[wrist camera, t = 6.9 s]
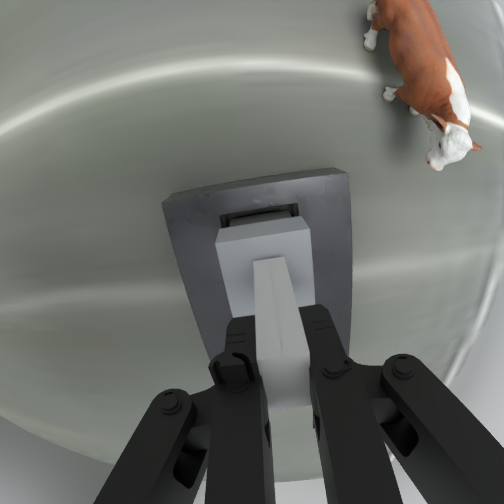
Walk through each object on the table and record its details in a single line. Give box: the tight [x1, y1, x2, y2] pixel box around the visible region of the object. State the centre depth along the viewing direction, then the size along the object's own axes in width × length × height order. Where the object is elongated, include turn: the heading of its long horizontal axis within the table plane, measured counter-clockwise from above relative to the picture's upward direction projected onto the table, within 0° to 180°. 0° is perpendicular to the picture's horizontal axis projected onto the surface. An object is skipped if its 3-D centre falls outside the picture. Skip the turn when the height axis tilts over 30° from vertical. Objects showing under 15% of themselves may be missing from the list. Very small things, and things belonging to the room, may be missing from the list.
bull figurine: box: [363, 0, 482, 171], centre depth 12 cm, size 4×13×8 cm, turn 12°
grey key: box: [215, 210, 315, 318], centre depth 17 cm, size 5×5×5 cm
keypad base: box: [161, 168, 352, 361], centre depth 22 cm, size 19×12×3 cm, turn 9°
